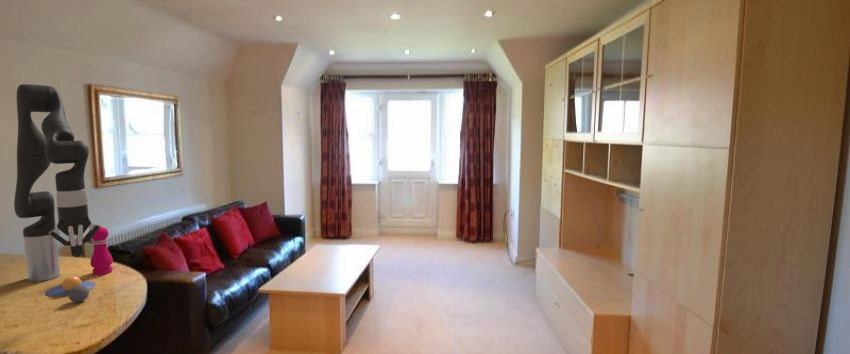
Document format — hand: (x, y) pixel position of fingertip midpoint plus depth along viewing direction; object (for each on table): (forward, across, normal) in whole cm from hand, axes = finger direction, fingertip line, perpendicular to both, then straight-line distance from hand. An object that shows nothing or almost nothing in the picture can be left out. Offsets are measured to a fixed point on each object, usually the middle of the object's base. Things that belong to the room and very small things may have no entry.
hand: (77, 256), depth 140 cm
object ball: (+14, 0, -18) cm, 23 cm away
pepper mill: (+17, -12, -34) cm, 39 cm away
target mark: (+17, 0, -21) cm, 27 cm away
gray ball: (+14, 0, -6) cm, 15 cm away
